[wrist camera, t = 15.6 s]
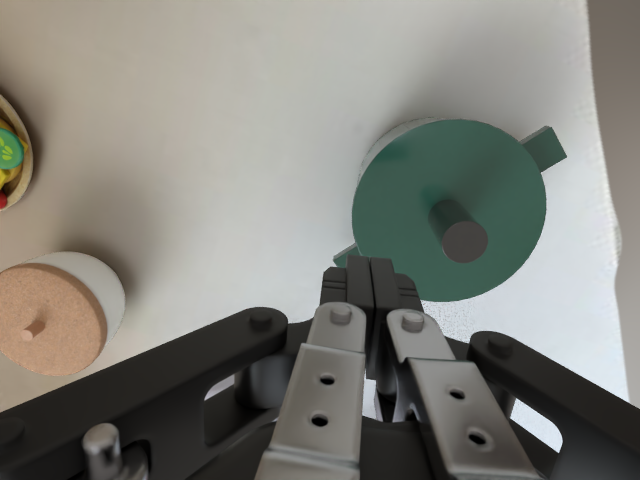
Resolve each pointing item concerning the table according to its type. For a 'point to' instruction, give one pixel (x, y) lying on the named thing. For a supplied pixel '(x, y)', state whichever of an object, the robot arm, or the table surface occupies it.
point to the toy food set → (13, 156)
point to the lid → (451, 207)
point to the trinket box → (59, 311)
